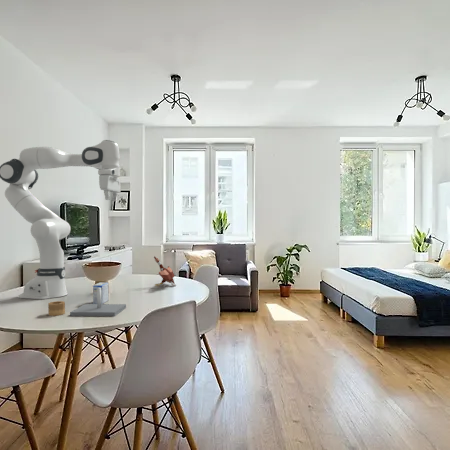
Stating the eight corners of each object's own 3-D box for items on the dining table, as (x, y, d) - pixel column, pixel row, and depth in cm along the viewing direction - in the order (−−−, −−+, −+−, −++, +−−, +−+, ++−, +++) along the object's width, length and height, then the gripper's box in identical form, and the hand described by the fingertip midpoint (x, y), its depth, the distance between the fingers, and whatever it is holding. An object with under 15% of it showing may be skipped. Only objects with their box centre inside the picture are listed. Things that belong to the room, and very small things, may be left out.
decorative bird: (150, 276, 223) (159, 253, 222) (177, 287, 222) (186, 265, 222) (137, 284, 194) (147, 258, 194) (168, 297, 194) (179, 271, 193)
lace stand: (70, 315, 143) (69, 290, 143) (85, 307, 157) (85, 284, 157) (114, 316, 142) (114, 290, 142) (126, 307, 156) (125, 284, 156)
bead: (45, 315, 144) (45, 304, 144) (53, 312, 150) (53, 301, 150) (60, 315, 143) (60, 304, 143) (67, 312, 149) (67, 301, 149)
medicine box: (99, 300, 171) (99, 282, 171) (108, 300, 171) (108, 282, 171) (92, 304, 163) (92, 285, 163) (102, 304, 163) (102, 285, 163)
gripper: (111, 175, 192) (112, 201, 192) (96, 170, 171) (96, 199, 172) (123, 175, 192) (123, 201, 192) (109, 170, 171) (109, 199, 171)
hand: (111, 200), depth 181 cm, fingers open, 8 cm apart
